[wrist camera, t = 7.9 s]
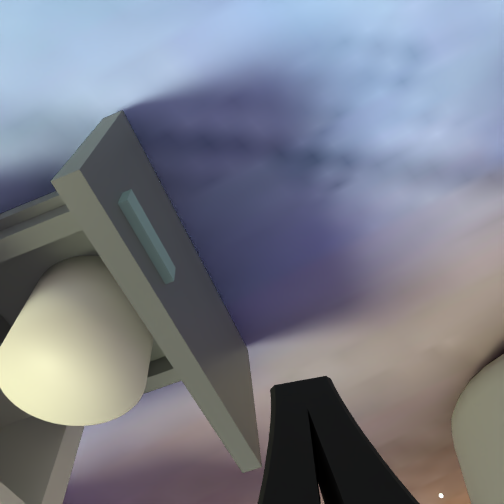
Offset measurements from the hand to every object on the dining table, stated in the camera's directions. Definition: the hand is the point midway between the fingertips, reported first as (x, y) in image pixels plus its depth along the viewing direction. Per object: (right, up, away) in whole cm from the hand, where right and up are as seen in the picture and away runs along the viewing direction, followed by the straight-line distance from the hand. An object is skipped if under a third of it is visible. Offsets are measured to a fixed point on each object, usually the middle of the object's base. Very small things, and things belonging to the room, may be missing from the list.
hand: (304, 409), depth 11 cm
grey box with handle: (-8, +2, +10) cm, 13 cm away
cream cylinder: (-8, +1, +8) cm, 11 cm away
